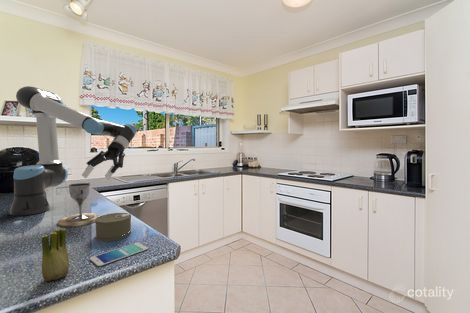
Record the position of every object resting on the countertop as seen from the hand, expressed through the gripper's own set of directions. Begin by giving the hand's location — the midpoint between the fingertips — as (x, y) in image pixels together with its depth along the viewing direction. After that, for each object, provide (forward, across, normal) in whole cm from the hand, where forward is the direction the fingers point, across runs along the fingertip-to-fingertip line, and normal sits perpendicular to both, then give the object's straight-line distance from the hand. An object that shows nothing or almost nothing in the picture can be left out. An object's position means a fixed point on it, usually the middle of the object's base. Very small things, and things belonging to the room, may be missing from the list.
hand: (95, 177), depth 111 cm
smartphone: (+35, -41, +8) cm, 55 cm away
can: (+26, -27, 0) cm, 38 cm away
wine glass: (+18, 0, -7) cm, 19 cm away
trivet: (+19, 0, -8) cm, 20 cm away
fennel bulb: (+46, -35, +19) cm, 61 cm away
